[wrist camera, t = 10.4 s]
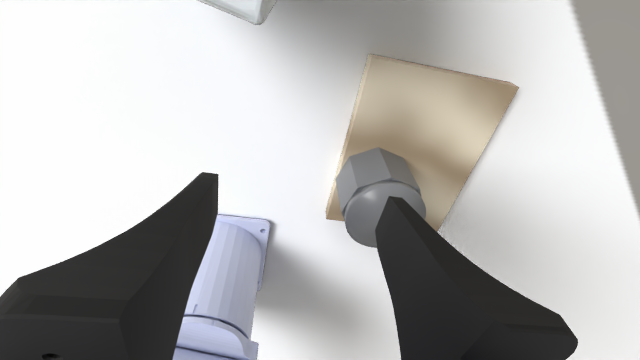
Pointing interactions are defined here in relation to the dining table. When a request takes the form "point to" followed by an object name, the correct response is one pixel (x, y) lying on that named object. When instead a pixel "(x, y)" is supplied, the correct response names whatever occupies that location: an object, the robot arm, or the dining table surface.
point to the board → (424, 126)
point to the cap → (374, 191)
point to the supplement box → (244, 8)
